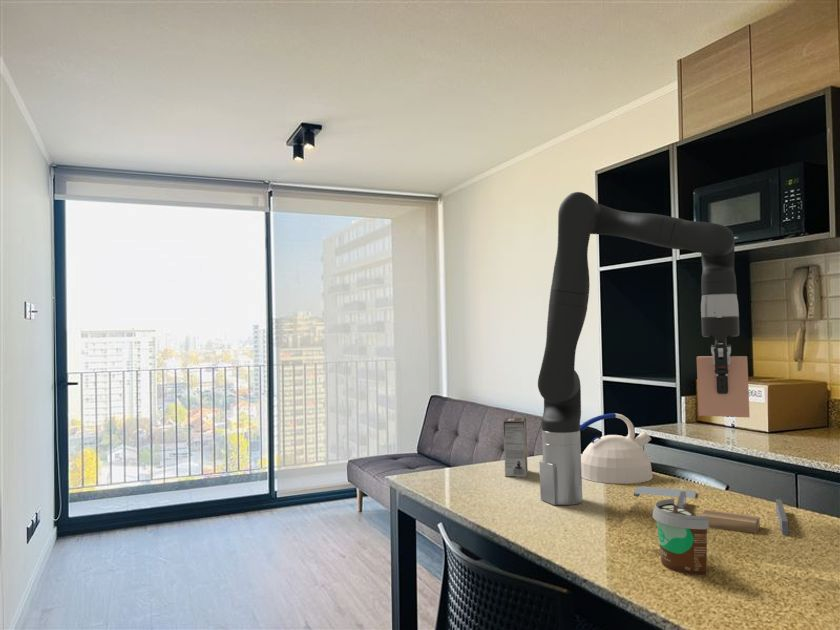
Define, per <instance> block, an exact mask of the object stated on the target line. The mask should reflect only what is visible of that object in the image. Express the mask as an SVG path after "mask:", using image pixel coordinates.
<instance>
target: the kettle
mask: <svg viewBox="0 0 840 630" xmlns="http://www.w3.org/2000/svg"><path fill="white" fill-rule="evenodd" d="M614 418H617V419H620V420H622V421H623V422H624V423H625V424H626V426H627V430H628V431H627V432H628V434H627V435H626V436H623V435H620V434H619V435H618V434H607V435H606V434H605V435H603V436H596V437H594V438H593V439H592V440H591V442H590V443H589V444H588V445H587V446H586V448H585V449H584V451H583V452H582V453H581V474H582V479H584V480H587V481H591V482H595V483H601V484H611V485H612V484H613V485H631V484H630V483H635V484H641V482H643V483H646V481H647V482H649V481H651V480H652V479H653V471H652V465H651V464H652V463H651V460H650V458H649V456H648V454H647V452H646V451H645V450H644V449H643V448H644V447H645V446H647V444H648V443H649V442H650V441H652V438H651V437H650V435H649V434H648V433H647V432H645V431H642V430H641V433H640V434H638V435H637V436H636V430H635V426H634V424H633V422H632V421H631V420H630V419H629V418H628V417H626V416H625V415H623V414H620V413H615V412H611V413H604V414H601V415H597V416H594V417H592V418H590V419H588V420H586V421H584V422H583V423H582V424H580V431H584V430H586V428H588V427H589V426H591V425H593V424H594V423H597V422H599V421H603V420H606V419H614ZM635 436H636V437H635Z"/></svg>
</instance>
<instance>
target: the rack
mask: <svg viewBox="0 0 840 630" xmlns="http://www.w3.org/2000/svg"><path fill="white" fill-rule="evenodd" d="M686 505H687V498H686V492H682V491H681V493H680V496H679V497H678V500H677V503H676V506H678V507H680V508H684V509H686ZM775 511H776V515H777V519H778V523H779V527H780V530H781V534H782V536H787V537H788V536H790V535H789V521H788V517H787V514H786V512H785V511H786V510H785V507H784V504H783V501H782V499H780V498H778V499H777V498H775Z"/></svg>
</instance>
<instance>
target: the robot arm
mask: <svg viewBox="0 0 840 630" xmlns="http://www.w3.org/2000/svg"><path fill="white" fill-rule="evenodd" d="M557 214H558V215H557V229H558V230H557V249H556V256H555V261H554V266H553V273H552V280H551V285H550V293H549V301H548V312H547V313H548V314H547V322H546V339H545V340H546V341H545V347H544V353H543V357H542V363H541V367H540V371H539V374H538V379H537V388H538V391H539V394H540V396H541V397H542V398H543V412H542V413H543V414H542V419H541V442H542V443H541V446H542V449H541V450H542V460H540V461H539V464H538V465H539V486H540V488H539V489H540V490H539V491H540V494H539V496H540V500H541V501H544V502H546V503H549V504H551V505H552V506H553V505H554V506H555V505H557V506H558V505H561V506H562V505H563V506H568V505H569V506H571V505H578V504H580V503H582V502H583V481H582V479H583V478H582V474H581V456H582V451H581V449H582V448H581V430H580V426H581V419H582V418H581V417H582V397H581V396H582V394H581V392H582V391H581V387H582V385H581V380H580V376H579V374H578V372H577V371H576V370H575V363H576V352H577V345H578V342H579V339H580V337H581V334H582V330H583V327H584V323H585V320H586V317H587V312H588V306H589V305H588V303H589V299H590V298H589V297H590V286H591V285H590V270H589V261H588V260H589V259H588V250H589V243H590V237H591V235H600V236H601V235H603V236H612V237H618V238H619V237H620V238H625V239H628V240H632V241H637V242H641V243H644V244H650V245H652V246H653V245H654V246H657V247H662V248H668V249H673V250H687V251H691V252H696V253H699V254H701V255H700V257H701V267H702V273H701V283H700V285H701V286H700V287H701V302H700V312H701V313H700V316H701V335H702V337H703V338H713V339H714V345H713V344H711V345H710V351H711V355H712V356H713V365H714V366H715V375H716V376H718V377H716V381H717V393H718V394H727V393H728V377H726V376H728V375H729V370H728V366H729V365H730V356H731V353H732V345H731V344H727V339H728V337H731V338H733V337H738V336H740V312H739V300H738V294H737V279H736V273H735V235H734V233H733V231H732V230H731V229H730V228H729V227H727V226H726V225H723V224H719V223H713V222H706V221H697V220H696V221H694V220H686V219H683V218H677V217H673V216H668V215H663V214H657V213H647V212H645V213H644V212H628V211H624V210H623V211H622V210H618V209H615V208H611V207H608V206H606V205H604V204H601V203H597V201H596V200H595V199H594V198H593V197H591V195H589V194H587V193H585V192H582V191H576V192H575V191H574V192H571V193H569V194H568V195H567V196H566V197H565V198H563V200H562V201H561V203H560V204H559V208H558V212H557ZM718 366H725V368H718Z"/></svg>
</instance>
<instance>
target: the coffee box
mask: <svg viewBox="0 0 840 630" xmlns="http://www.w3.org/2000/svg"><path fill="white" fill-rule="evenodd" d="M527 434H528V433H527V417H505V418H504V421H503V445H504V447H503V449H504V450H503V451H504V452H503V453H504V476H505V477H506V476H516V477H515V478H527V477H528V476H527V475H528V442H527V440H528V439H527V438H528V437H527V436H528V435H527Z"/></svg>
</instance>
